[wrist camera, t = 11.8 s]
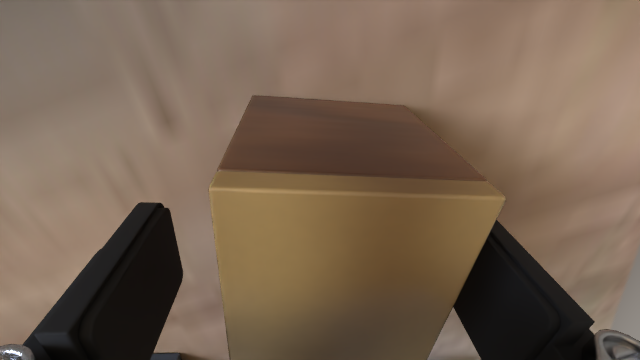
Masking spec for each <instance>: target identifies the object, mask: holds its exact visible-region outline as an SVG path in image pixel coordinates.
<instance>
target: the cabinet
mask: <svg viewBox="0 0 640 360" xmlns="http://www.w3.org/2000/svg"><path fill="white" fill-rule="evenodd" d="M150 360H181V357H180V354H179V353H163V354H152V356H151V359H150Z"/></svg>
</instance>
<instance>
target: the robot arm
mask: <svg viewBox="0 0 640 360" xmlns="http://www.w3.org/2000/svg"><path fill="white" fill-rule="evenodd" d="M182 278H183V269H182V265H181V260H180V255H179V251H178V246H177V241H176V237H175V232H174V227H173V222H172V218H171V213H170V210H169V209H168V208H164V206H163V204H161V203H142V202H141V203H138V204H137V205H136V206H135V208H134V209H133V210H132V212H131V213H130V214H129V215H128V217H127V218H126V219H125V220H124V222H123V223H122V224H121V225H120V227H119V228H118V229H117V230H116V232H115V233H114V234H113V235H112V237H111V238H110V239H109V240H108V242H107V243H106V244H105V246H104V247H103V248H102V249H100V250H99V251H98V252H97V253H96V254H95V255H94V257H93V258H92V259H91V260H90V261H89V263H88V264H87V265H86V266H85V268H84V269H83V270H82V271H81V273H80V274H79V275H78V276H77V278H76V279H75V280H74V281H73V283H72V284H71V285H70V286H69V288H68V289H67V290H66V291H65V293H64V294H63V295H62V296H61V298H60V299H59V300H58V301H57V303H56V304H55V305H54V306H53V308H52V309H51V310H50V311H49V313H48V314H47V315H46V316H45V317H44V319H43V320H42V321H41V322H40V324H39V325H38V326H37V327H36V329H35V330H34V331H33V332H32V334H31V335H30V336H29V337H28V339H27V340H26V341H25V342H24V344H23V345H16V344H9V345H4V346H0V360H150V359H151V356H152V354H153V351H154V349H155V346H156V344H157V342H158V339H159V337H160V334H161V332H162V329H163V327H164V324H165V322H166V319H167V317H168V314H169V312H170V310H171V307H172V305H173V302H174V300H175V297H176V295H177V292H178V290H179V287H180V285H181V282H182ZM453 307H454V309H455V311H456V313H457V315H458V317H459V318H460V320H461V322H462V324H463V326H464V328H465V330H466V332H467V333H468V335H469V337H470V339H471V341H472V343H473V345H474V346H475V348H476V350H477V352H478V354H479V356H480V358H481V360H640V341H638V340H636V339H634V338H632V337H631V336H629V335H626V334H624V333H621V332H618V331H614V330H609V329H604V330H599V331H598V332H597V333H596V334H595V335H594V334H593V333H592V332H591V331H590V330H589V328H590V327H591V326H592V325H593V323H594V321H593V320H592V319H591V318H590V316H589V315H588V314H587V313H586V312H585V311H584V310H583V309H582V308H581V307H580V306H579V305H578V304H577V303H576V302H575V301H574V300H573V299H572V298H571V297H570V296H569V295H568V294H567V293H566V291H565V290H564V289H563V288H562V287H561V286H560V285H559V284H558V283H557V282H556V281H555V280H554V279H553V278H552V277H551V276H550V275H549V274H548V273H547V272H546V271H545V270H544V269H543V267H542V266H541V265H540V264H539V263H538V262H537V261H536V260H535V259H534V258H533V257H532V256H531V255H530V254H529V253H528V252H527V251H526V250H525V249H524V248H523V247H522V246H521V245H520V244H519V242H518V241H517V240H516V239H515V238H514V237H513V236H512V235H511V234H510V233H509V232H508V231H507V230H506V229H505V228H504V227H503V226H502V225H501V224H500V223H499V222H498V221H497V220H496V221H495V223H494V225H493V227H492V229H491V231H490V233H489V235H488V237H487V239H486V241H485V243H484V245H483V247H482V249H481V251H480V253H479V255H478V257H477V259H476V261H475V263H474V265H473V267H472V269H471V271H470V273H469V275H468V277H467V280H466V282H465V284H464V286H463V288H462V290H461V292H460V294H459V296H458V298H457V300H456V302H455V304H454V306H453Z"/></svg>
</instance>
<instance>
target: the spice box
mask: <svg viewBox="0 0 640 360" xmlns="http://www.w3.org/2000/svg"><path fill="white" fill-rule="evenodd" d="M486 181H487V180H486V179H485V178H484V177H483V176H482V175H481V174H480V173H479V172H478V171H476V170H475V169H474V168H473V167H472V166H471V165H470V164H469V163H468V162H466V161H465V160H464V159H463V158H462V157H461V156H460V155H459V154H458V153H456V152H455V151H454V150H453V149H452V148H451V147H450V146H449V145H447V144H446V143H445V142H444V141H443V140H442V139H441V138H440V137H439V136H437V135H436V134H435V133H434V132H433V131H432V130H431V129H430V128H428V127H427V126H426V125H425V124H424V123H423V122H422V121H421V120H420V119H418V118H417V117H416V116H415V115H414V114H413V113H412V112H411V111H409V110H408V109H407V108H406V107H405V106H402V105H388V104H373V103H358V102H343V101H328V100H314V99H299V98H284V97H269V96H252V98H251V100H250V102H249V104H248V106H247V108H246V110H245V113H244V115H243V117H242V119H241V121H240V123H239V125H238V127H237V129H236V131H235V134H234V136H233V138H232V140H231V142H230V144H229V146H228V148H227V150H226V152H225V154H224V157H223V159H222V161H221V163H220V165H219V167H218V169H217V172H216V174H215V176H214V178H213V180H212V182H211V184H210V187H209V189H208V190H209V198H210V206H211V214H212V222H213V230H214V238H215V246H216V254H217V262H218V269H219V277H220V285H221V293H222V301H223V309H224V317H225V325H226V333H227V341H228V349H229V357H230V360H427V358H428V356H429V354H430V352H431V350H432V348H433V346H434V344H435V342H436V340H437V338H438V336H439V334H440V332H441V330H442V328H443V326H444V324H445V322H446V320H447V318H448V316H449V314H450V312H451V310H452V308H453V306H454V304H455V302H456V300H457V298H458V296H459V294H460V292H461V290H462V288H463V286H464V284H465V282H466V280H467V277H468V275H469V273H470V271H471V269H472V267H473V265H474V263H475V261H476V259H477V257H478V255H479V253H480V251H481V249H482V247H483V245H484V243H485V241H486V239H487V237H488V235H489V233H490V231H491V229H492V227H493V225H494V223H495V221H496V219H497V217H498V215H499V213H500V211H501V209H502V207H503V205H504V203H505V201H506V198H505V196H504V195H503V194H502V193H501V192H500V191H498V190H497V189H496V188H495V187H494V186H493V185H492V184H491V183H489V182H486Z"/></svg>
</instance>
